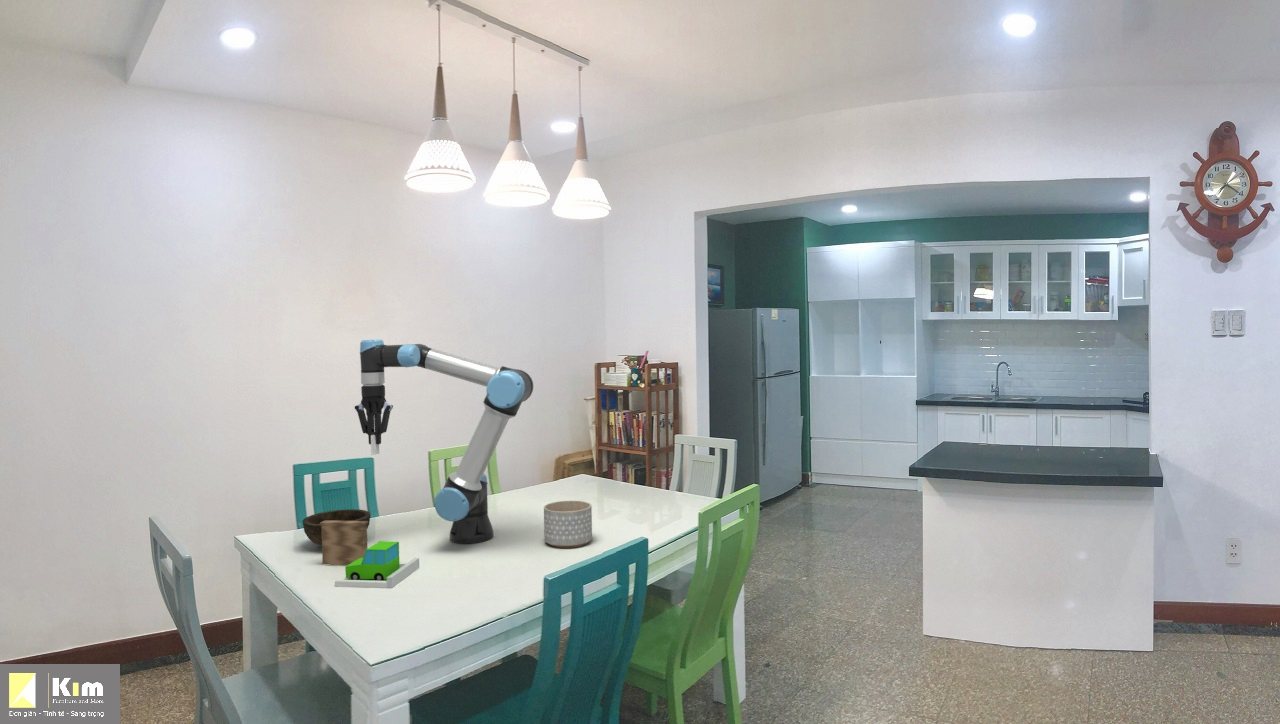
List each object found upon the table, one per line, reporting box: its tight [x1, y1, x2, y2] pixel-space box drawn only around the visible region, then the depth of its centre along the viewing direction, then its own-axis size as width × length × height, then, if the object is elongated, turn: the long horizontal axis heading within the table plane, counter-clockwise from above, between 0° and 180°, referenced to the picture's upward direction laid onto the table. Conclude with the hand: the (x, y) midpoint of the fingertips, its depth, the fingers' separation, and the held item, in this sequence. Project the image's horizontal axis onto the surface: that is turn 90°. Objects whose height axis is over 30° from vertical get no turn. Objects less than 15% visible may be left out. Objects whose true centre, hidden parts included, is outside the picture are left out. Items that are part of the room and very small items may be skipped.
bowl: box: [301, 508, 371, 547], centre depth 248 cm, size 22×22×10 cm
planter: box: [543, 500, 593, 549], centre depth 246 cm, size 16×16×13 cm
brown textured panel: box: [320, 520, 368, 566], centre depth 226 cm, size 15×3×14 cm, turn 83°
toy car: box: [344, 540, 400, 581], centre depth 213 cm, size 10×13×10 cm
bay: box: [334, 557, 420, 589], centre depth 214 cm, size 18×18×3 cm
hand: (375, 453), depth 243 cm, fingers closed
